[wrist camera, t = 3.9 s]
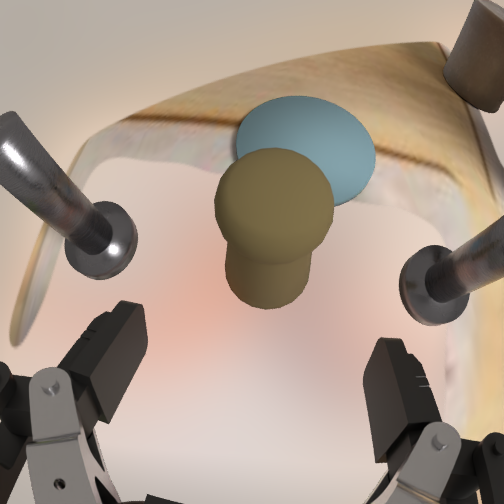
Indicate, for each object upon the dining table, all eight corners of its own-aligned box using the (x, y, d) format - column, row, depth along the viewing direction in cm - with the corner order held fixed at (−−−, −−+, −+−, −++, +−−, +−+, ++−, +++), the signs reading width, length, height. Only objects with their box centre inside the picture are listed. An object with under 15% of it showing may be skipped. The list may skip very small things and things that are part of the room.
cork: (216, 239, 23) (187, 143, 13) (295, 219, 24) (319, 117, 13) (236, 319, 21) (217, 277, 11) (320, 296, 22) (376, 235, 11)
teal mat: (368, 113, 27) (370, 108, 27) (375, 220, 23) (379, 215, 23) (248, 95, 28) (248, 89, 27) (224, 198, 24) (223, 193, 23)
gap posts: (458, 256, 22) (572, 171, 9) (459, 327, 20) (598, 279, 7) (86, 207, 24) (-7, 98, 11) (65, 273, 22) (-59, 191, 9)
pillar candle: (507, 120, 29) (557, 47, 15) (458, 105, 29) (508, 15, 15) (479, 74, 32) (515, 6, 18) (431, 59, 32) (464, -22, 18)
